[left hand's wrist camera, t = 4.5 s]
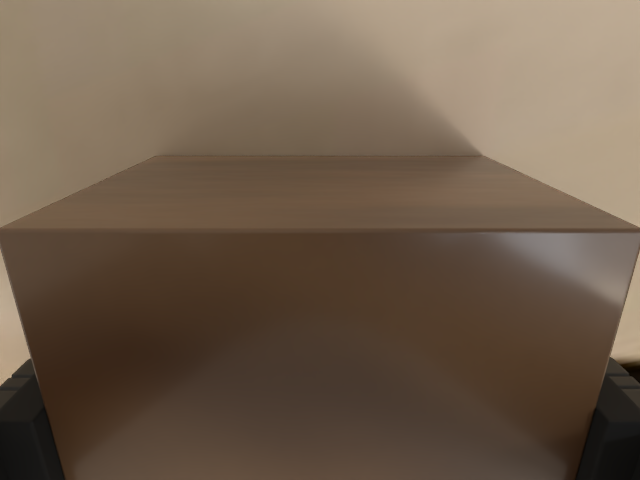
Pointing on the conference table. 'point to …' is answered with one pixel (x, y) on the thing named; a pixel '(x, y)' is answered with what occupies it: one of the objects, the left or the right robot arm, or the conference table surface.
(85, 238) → the thick board
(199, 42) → the conference table surface
